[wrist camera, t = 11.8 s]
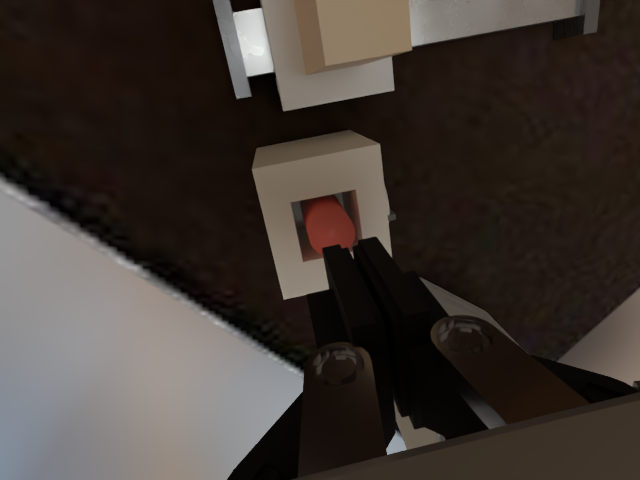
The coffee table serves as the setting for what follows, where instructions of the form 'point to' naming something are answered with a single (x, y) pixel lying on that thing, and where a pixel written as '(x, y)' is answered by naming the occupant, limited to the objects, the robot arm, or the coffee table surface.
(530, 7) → the rail
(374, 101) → the coffee table surface
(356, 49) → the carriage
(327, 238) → the button
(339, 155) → the white cube box
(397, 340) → the robot arm
